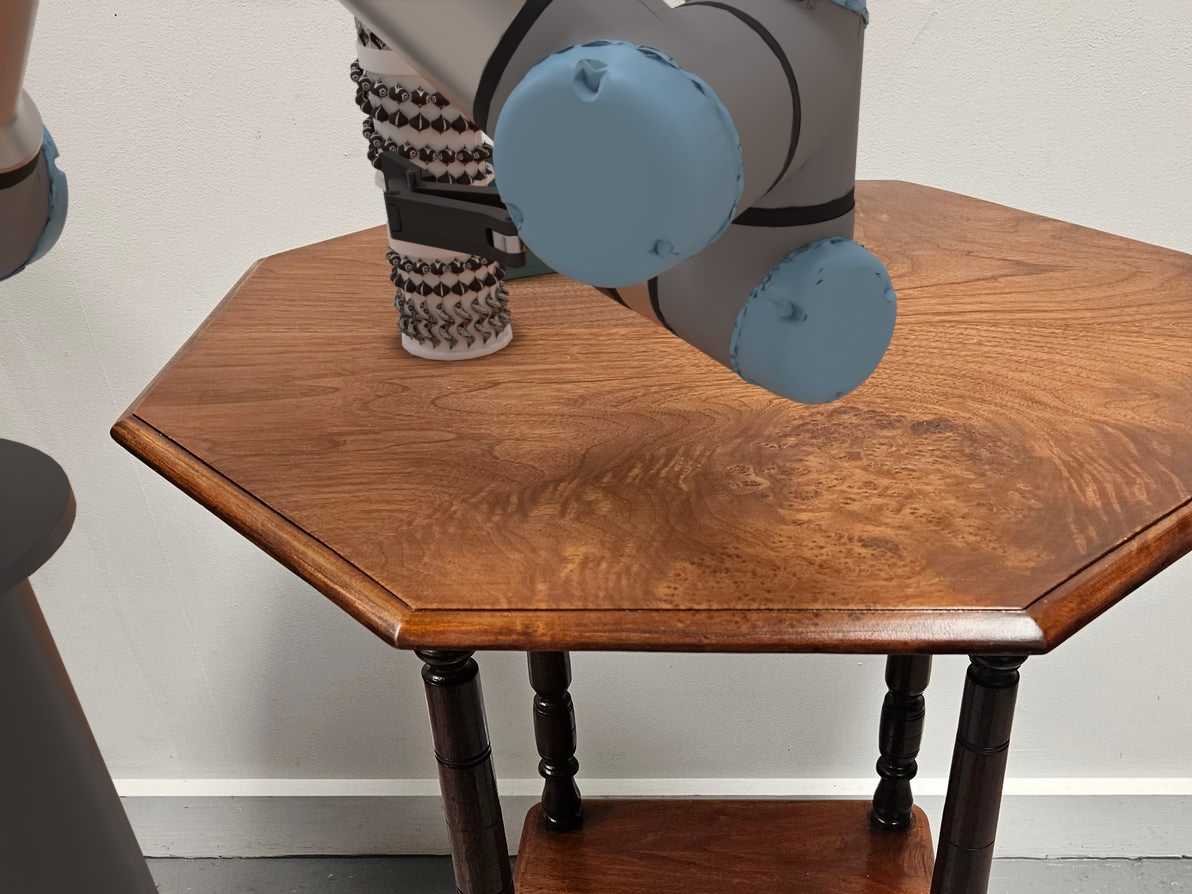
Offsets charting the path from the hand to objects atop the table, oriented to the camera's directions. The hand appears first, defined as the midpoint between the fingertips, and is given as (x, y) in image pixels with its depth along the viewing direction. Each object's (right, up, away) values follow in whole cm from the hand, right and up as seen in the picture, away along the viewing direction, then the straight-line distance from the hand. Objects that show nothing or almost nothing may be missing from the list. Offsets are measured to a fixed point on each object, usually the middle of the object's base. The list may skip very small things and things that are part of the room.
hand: (488, 156), depth 80 cm
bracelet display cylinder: (-5, -7, +16) cm, 18 cm away
